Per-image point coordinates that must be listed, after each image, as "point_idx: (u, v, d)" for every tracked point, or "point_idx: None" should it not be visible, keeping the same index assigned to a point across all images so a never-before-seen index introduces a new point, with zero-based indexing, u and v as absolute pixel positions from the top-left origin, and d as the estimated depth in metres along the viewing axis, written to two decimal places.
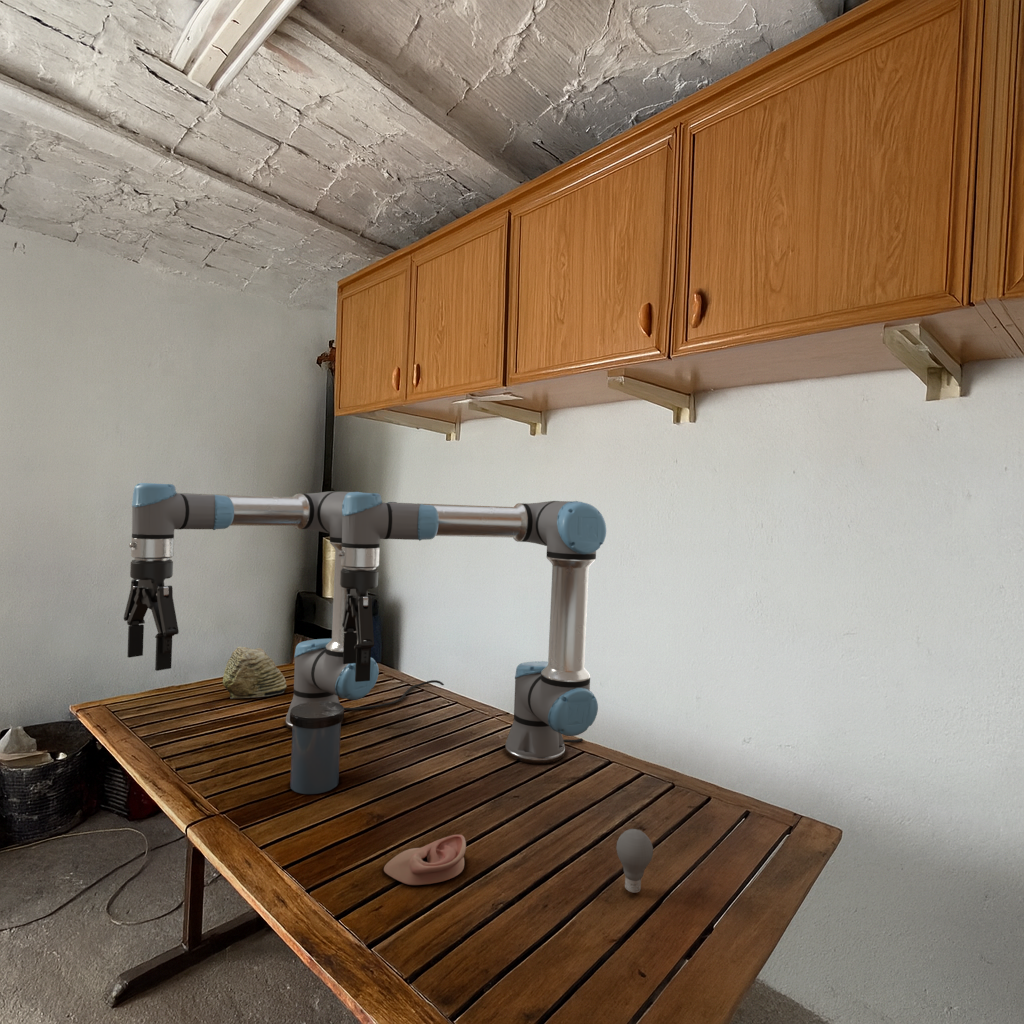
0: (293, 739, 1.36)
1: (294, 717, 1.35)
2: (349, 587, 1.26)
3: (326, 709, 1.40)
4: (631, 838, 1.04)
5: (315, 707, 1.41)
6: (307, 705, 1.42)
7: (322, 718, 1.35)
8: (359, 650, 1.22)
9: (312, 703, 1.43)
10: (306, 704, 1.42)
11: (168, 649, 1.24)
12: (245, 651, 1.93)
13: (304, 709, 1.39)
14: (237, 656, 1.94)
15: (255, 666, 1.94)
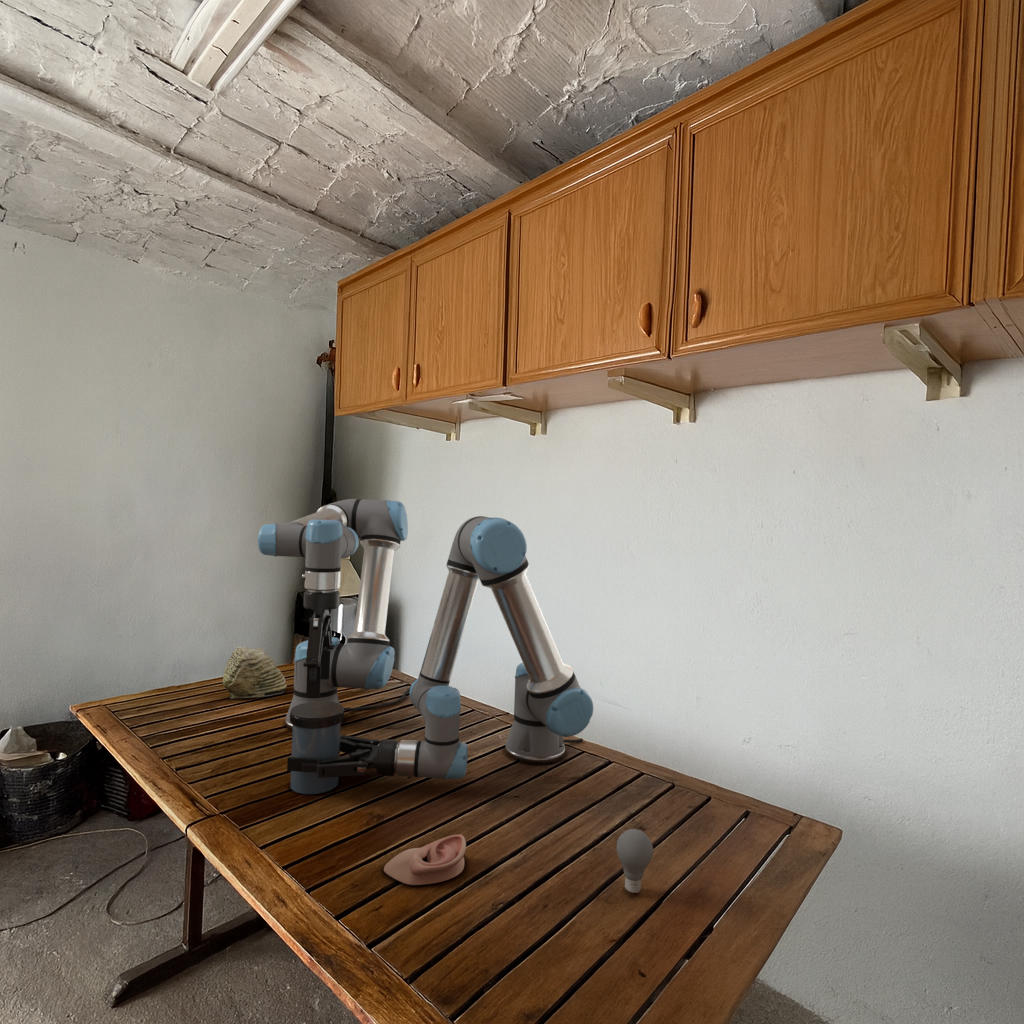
0: (293, 739, 1.36)
1: (294, 717, 1.35)
2: None
3: (326, 709, 1.40)
4: (631, 838, 1.04)
5: (315, 707, 1.41)
6: (307, 705, 1.42)
7: (322, 718, 1.35)
8: None
9: (312, 703, 1.43)
10: (306, 704, 1.42)
11: (313, 678, 1.31)
12: (245, 651, 1.93)
13: (304, 709, 1.39)
14: (237, 656, 1.94)
15: (255, 666, 1.94)
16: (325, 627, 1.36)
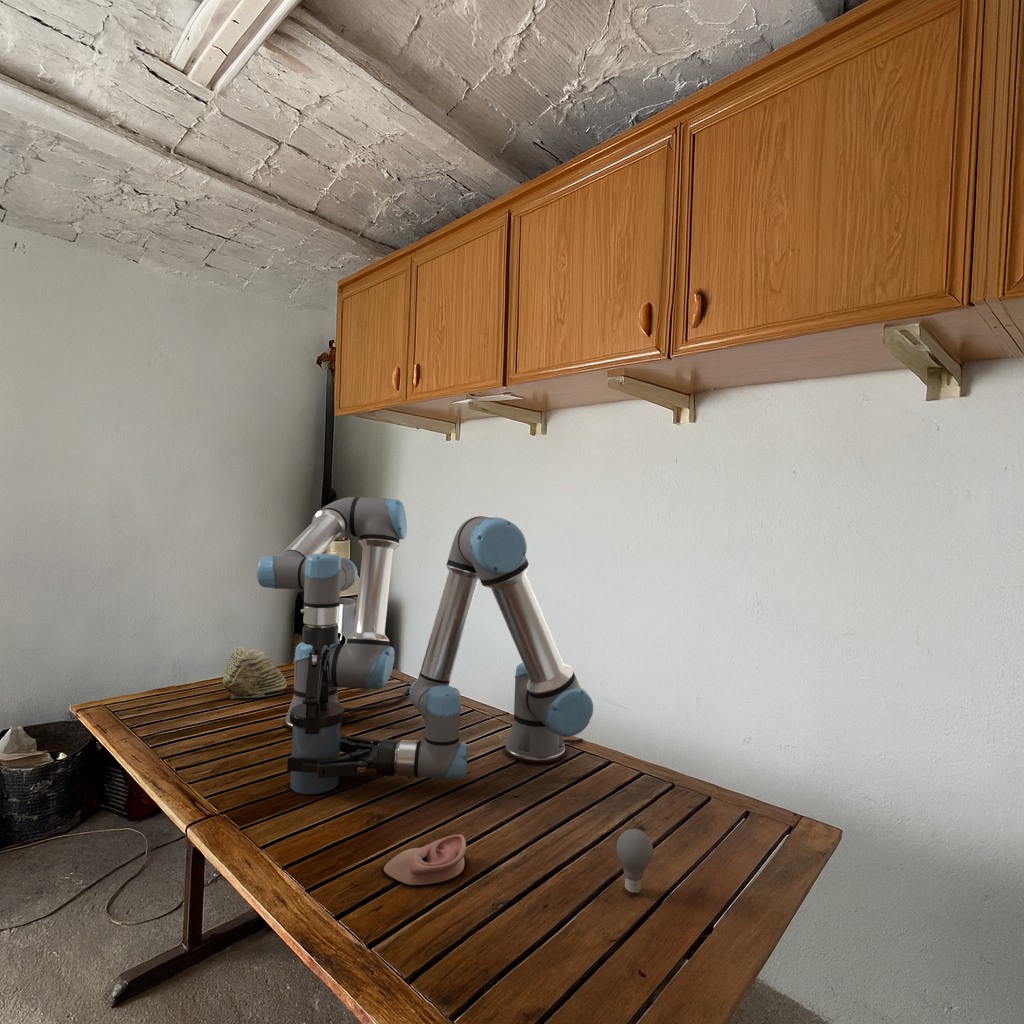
0: (293, 739, 1.36)
1: (294, 717, 1.35)
2: None
3: (326, 709, 1.40)
4: (631, 838, 1.04)
5: None
6: None
7: (322, 718, 1.35)
8: None
9: None
10: None
11: (312, 716, 1.32)
12: (245, 651, 1.93)
13: (304, 709, 1.39)
14: (237, 656, 1.94)
15: (255, 666, 1.94)
16: (324, 663, 1.37)
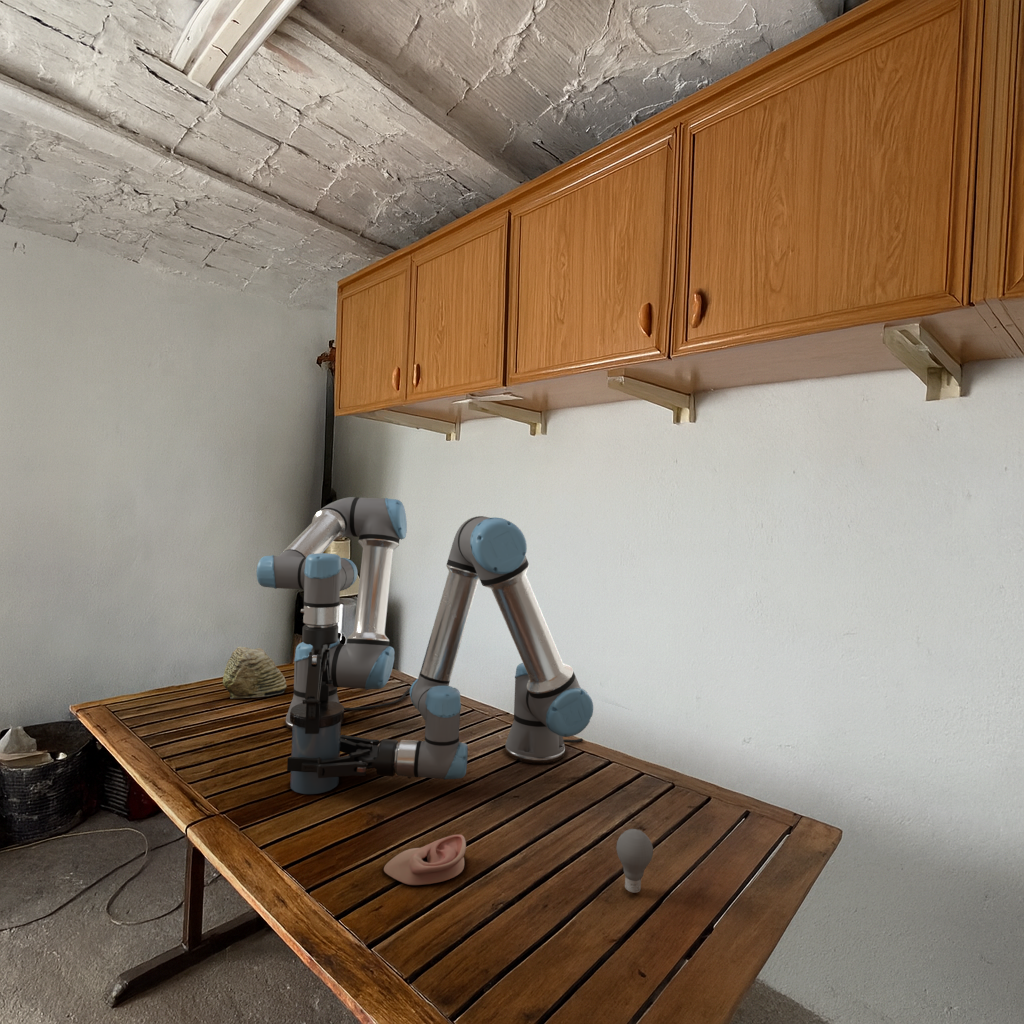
0: (293, 739, 1.36)
1: (333, 716, 1.36)
2: None
3: None
4: (631, 838, 1.04)
5: None
6: (303, 712, 1.36)
7: None
8: None
9: (297, 711, 1.37)
10: (300, 713, 1.36)
11: (312, 716, 1.32)
12: (245, 651, 1.93)
13: None
14: (237, 656, 1.94)
15: (255, 666, 1.94)
16: (324, 662, 1.37)
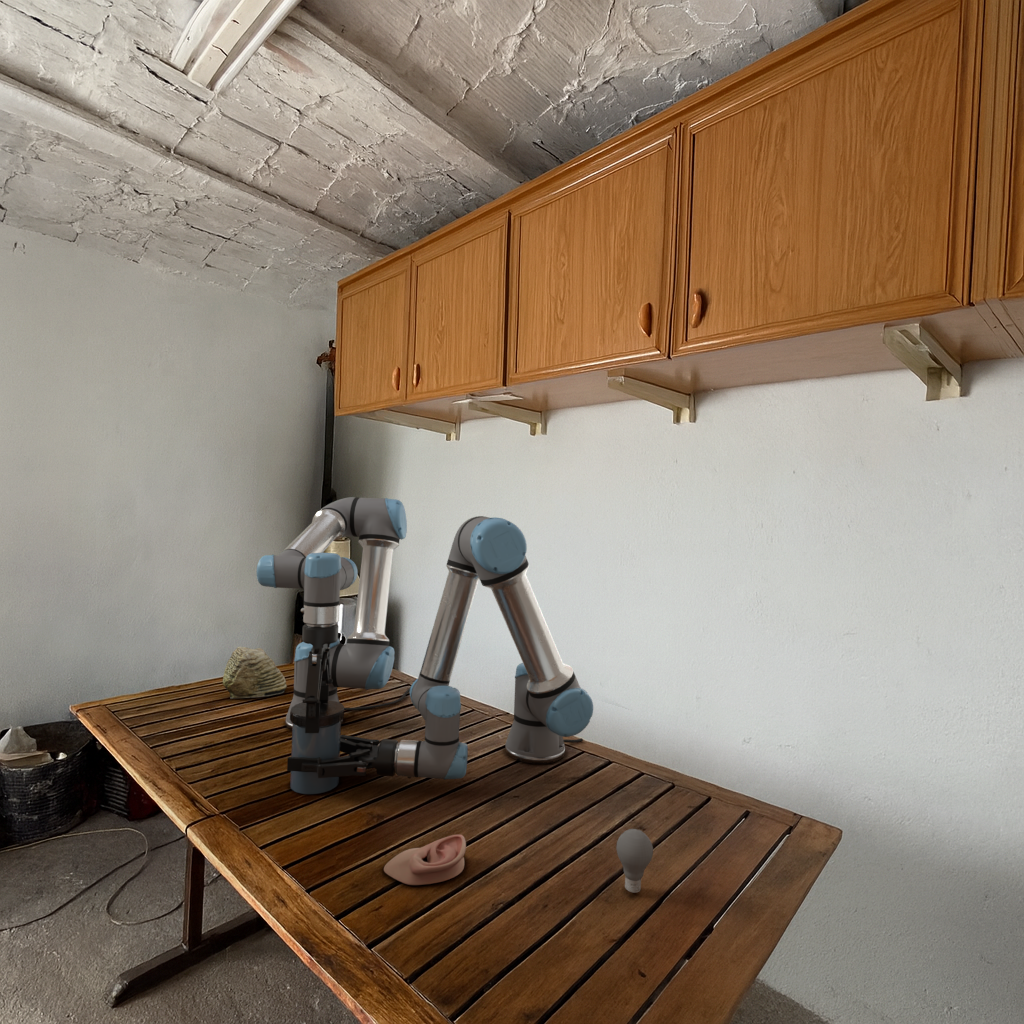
0: (293, 739, 1.36)
1: None
2: None
3: None
4: (631, 838, 1.04)
5: (320, 709, 1.38)
6: (329, 711, 1.38)
7: None
8: None
9: (325, 713, 1.36)
10: (331, 712, 1.37)
11: (312, 715, 1.32)
12: (245, 651, 1.93)
13: (330, 707, 1.40)
14: (237, 656, 1.94)
15: (255, 666, 1.94)
16: (324, 662, 1.37)
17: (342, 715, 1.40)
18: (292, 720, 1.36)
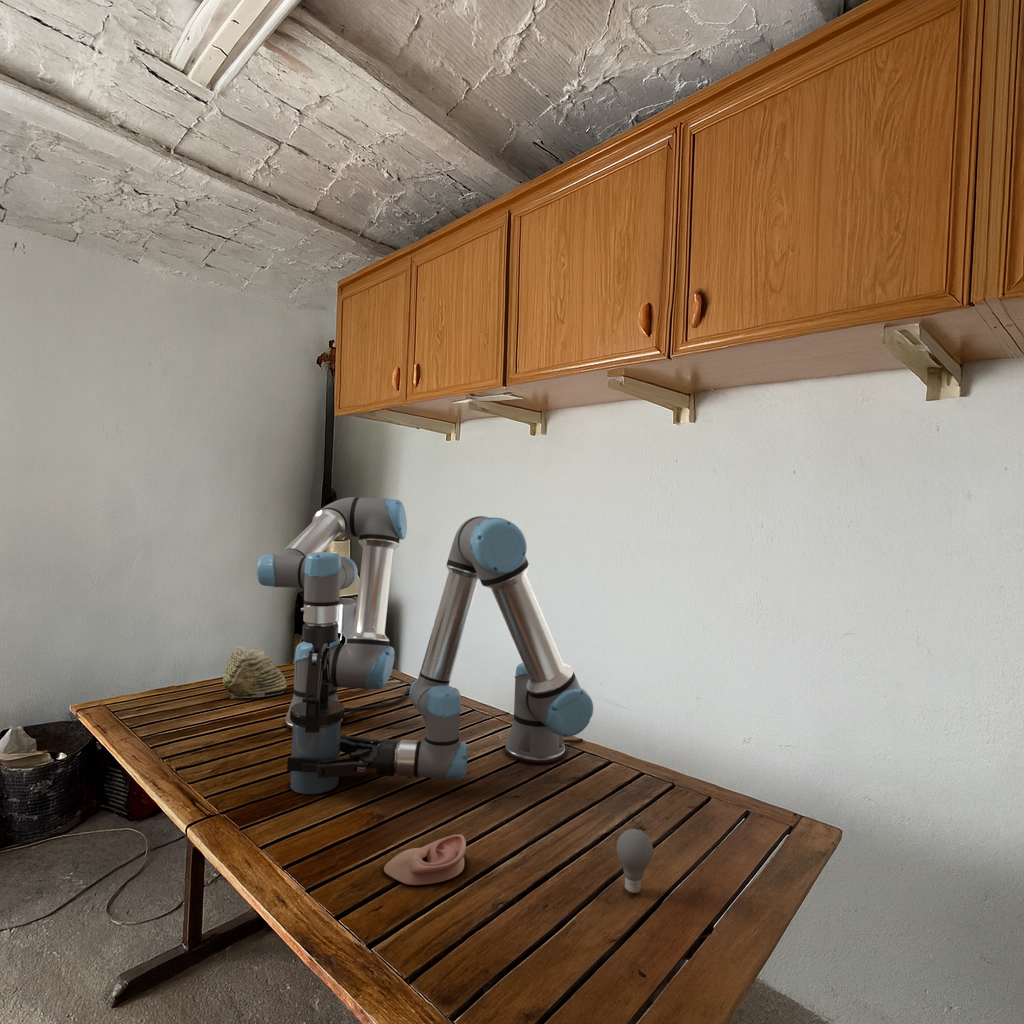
0: (293, 739, 1.36)
1: None
2: None
3: None
4: (631, 838, 1.04)
5: (323, 706, 1.40)
6: (329, 702, 1.43)
7: (292, 712, 1.36)
8: None
9: (335, 703, 1.42)
10: (332, 702, 1.43)
11: (312, 714, 1.32)
12: (245, 651, 1.93)
13: None
14: (237, 656, 1.94)
15: (255, 666, 1.94)
16: (324, 661, 1.37)
17: None
18: (330, 721, 1.35)
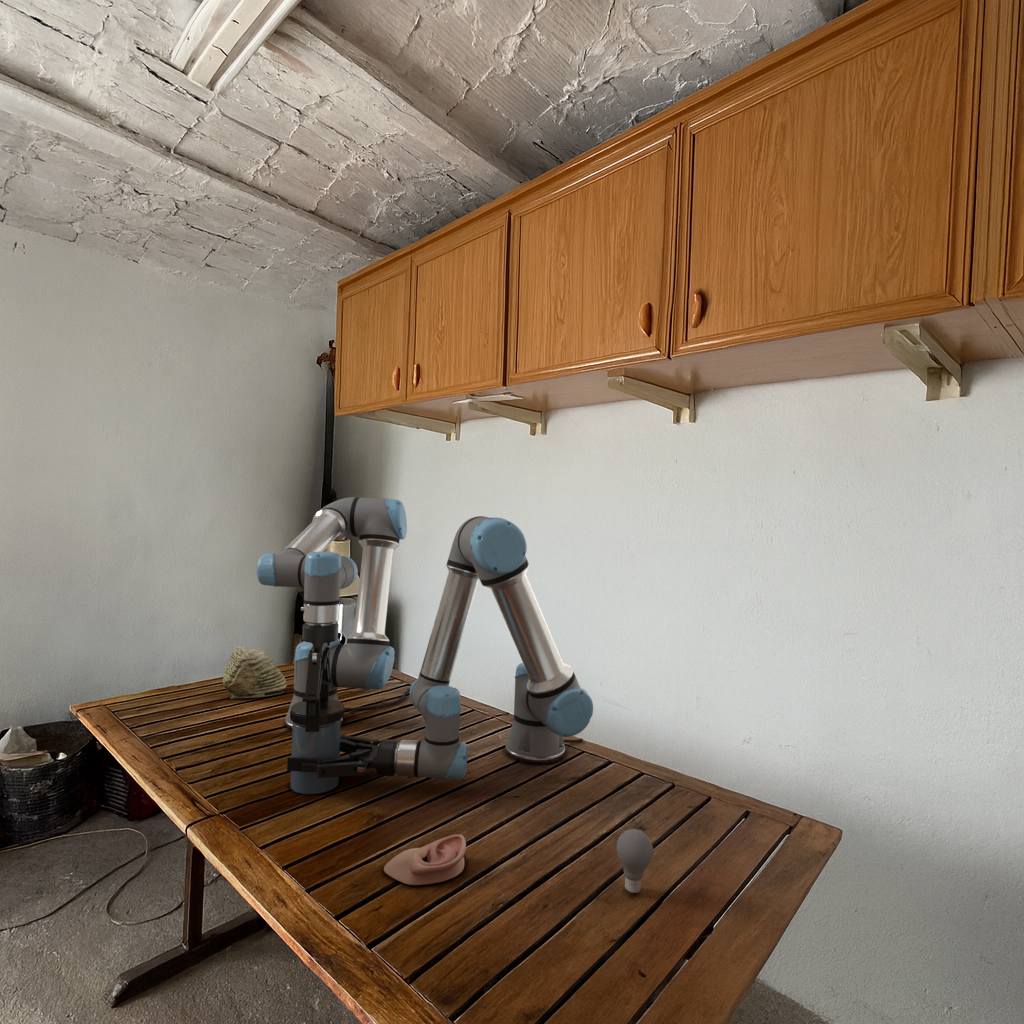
0: (293, 739, 1.36)
1: (298, 716, 1.34)
2: None
3: (326, 706, 1.40)
4: (631, 838, 1.04)
5: None
6: (304, 703, 1.41)
7: (328, 714, 1.35)
8: None
9: None
10: (302, 703, 1.41)
11: (312, 714, 1.32)
12: (245, 651, 1.93)
13: (304, 707, 1.38)
14: (237, 656, 1.94)
15: (255, 666, 1.94)
16: (324, 660, 1.37)
17: None
18: None
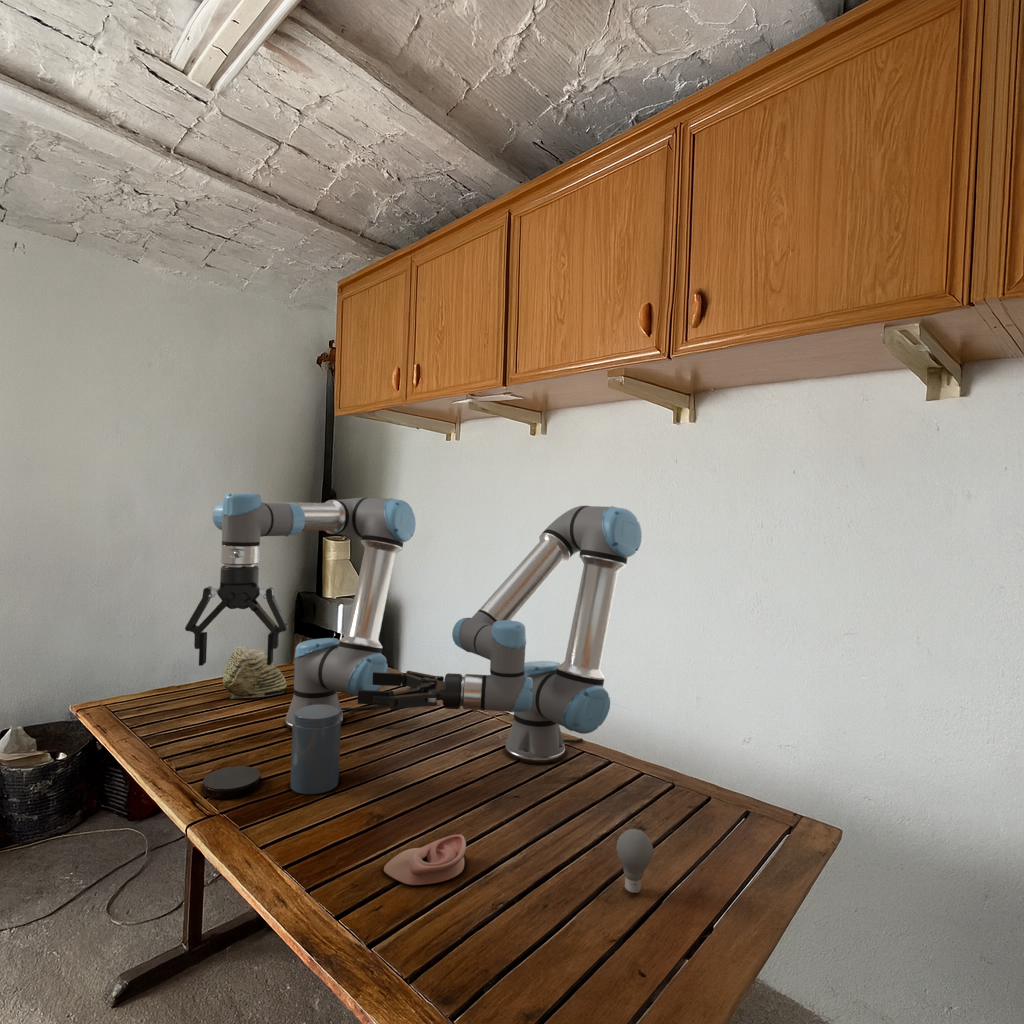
0: (293, 739, 1.36)
1: (251, 784, 1.34)
2: None
3: (232, 773, 1.38)
4: (631, 838, 1.04)
5: (226, 779, 1.35)
6: (219, 783, 1.33)
7: None
8: None
9: (211, 783, 1.33)
10: (216, 785, 1.32)
11: (277, 644, 1.38)
12: (245, 651, 1.93)
13: (233, 782, 1.34)
14: (237, 656, 1.94)
15: (255, 666, 1.94)
16: (255, 599, 1.38)
17: (225, 795, 1.31)
18: None
